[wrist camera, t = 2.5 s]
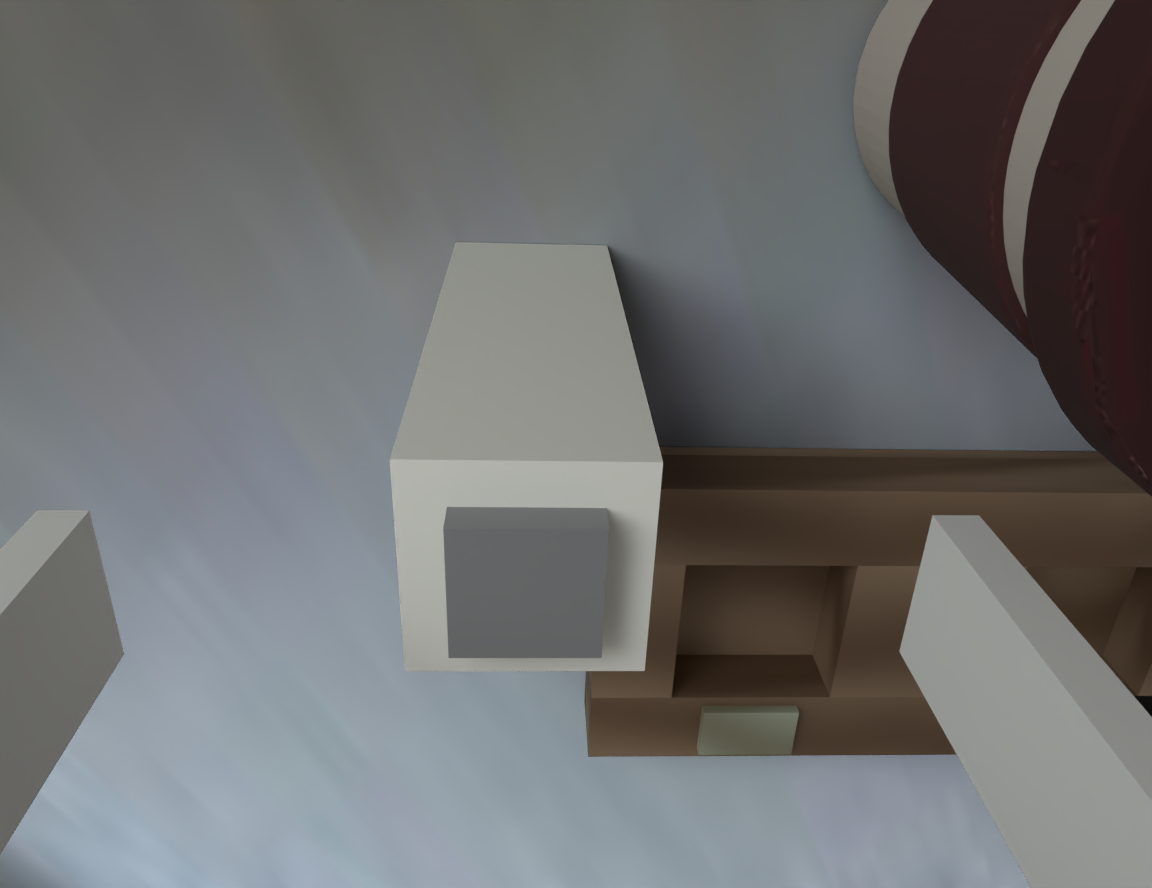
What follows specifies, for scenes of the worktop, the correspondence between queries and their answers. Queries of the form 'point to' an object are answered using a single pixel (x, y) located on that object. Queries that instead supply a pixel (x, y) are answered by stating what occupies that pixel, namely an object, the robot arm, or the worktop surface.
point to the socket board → (851, 592)
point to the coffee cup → (1031, 183)
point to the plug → (526, 471)
